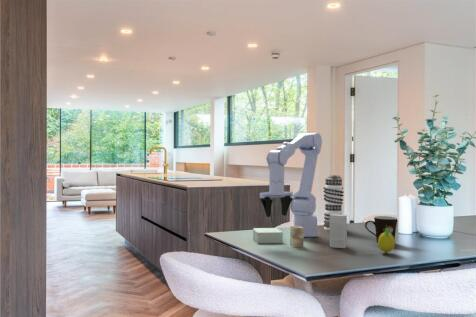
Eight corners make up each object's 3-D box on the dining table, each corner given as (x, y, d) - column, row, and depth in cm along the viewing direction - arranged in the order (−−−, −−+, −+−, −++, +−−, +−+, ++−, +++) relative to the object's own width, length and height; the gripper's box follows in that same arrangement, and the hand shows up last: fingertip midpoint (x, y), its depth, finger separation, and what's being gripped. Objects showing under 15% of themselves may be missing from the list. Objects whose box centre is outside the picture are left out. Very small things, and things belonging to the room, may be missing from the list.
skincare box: (346, 246, 157) (347, 214, 157) (345, 248, 153) (346, 216, 153) (330, 245, 159) (330, 213, 159) (329, 247, 155) (329, 215, 155)
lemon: (388, 256, 141) (388, 227, 141) (373, 253, 146) (373, 224, 146) (399, 254, 145) (399, 225, 145) (384, 250, 150) (385, 223, 150)
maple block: (300, 244, 159) (300, 226, 159) (303, 246, 155) (303, 228, 155) (290, 244, 158) (290, 226, 158) (292, 247, 155) (293, 228, 154)
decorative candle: (322, 226, 200) (322, 174, 200) (342, 227, 199) (342, 175, 199) (323, 230, 191) (324, 175, 191) (344, 230, 190) (345, 175, 190)
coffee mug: (397, 242, 166) (398, 217, 166) (396, 246, 158) (396, 219, 158) (367, 239, 171) (367, 215, 171) (364, 243, 163) (364, 217, 163)
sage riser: (276, 237, 172) (277, 227, 172) (282, 242, 162) (282, 232, 162) (252, 237, 171) (253, 228, 171) (257, 243, 161) (257, 232, 161)
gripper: (285, 180, 169) (285, 213, 169) (255, 180, 162) (255, 215, 162) (296, 181, 163) (296, 215, 163) (265, 181, 156) (265, 218, 156)
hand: (276, 216), depth 162 cm, fingers open, 7 cm apart
